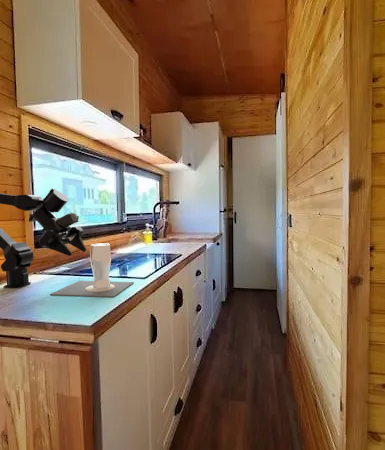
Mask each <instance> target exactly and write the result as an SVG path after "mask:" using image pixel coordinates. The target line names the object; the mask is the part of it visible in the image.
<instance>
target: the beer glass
mask: <svg viewBox="0 0 385 450" xmlns="http://www.w3.org/2000/svg"><path fill="white" fill-rule="evenodd" d="M89 249H90V251H89V259H90V260H89V261H90V265H91V270H92V275H93V280H92V281H93V288H94V289H105V288H109V287H110V286H111V285H110V272H111V271H110V270H111V264H112V263H111V262H112V251H111V244H110V243H105V242H104V243H92V244H90V248H89Z"/></svg>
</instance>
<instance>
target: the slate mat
mask: <svg viewBox="0 0 385 450" xmlns="http://www.w3.org/2000/svg"><path fill="white" fill-rule="evenodd" d="M93 281H94V280H78V281H76V282H73V283H71V284H69V285H67V286H65V287H63V288H60V289H58V290H55V291H53V292H52V293H49V294H50V296H59V297H60V296H63V297H64V296H66V297H90V298H93V297H94V298H115V297H117V296H118V295H119V294H121V293H122V292H124V291H125V290H126V289H128V288H129V287H130V286H132V285H133V284H134V281H110V285H111V286H110V287H109V288H105V289H94V288H93ZM127 287H128V288H127ZM123 290H124V291H123ZM116 295H117V296H116Z"/></svg>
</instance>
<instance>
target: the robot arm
mask: <svg viewBox="0 0 385 450" xmlns="http://www.w3.org/2000/svg"><path fill="white" fill-rule="evenodd" d="M68 201H69V198H68V196H67V195H66V194H64V193H63V192H61V191H59V190H57V189H56V188H51V189H50V190H49V192H48V193H47V195H46V196H45V197H44V198H42V196H41V195H38V194H17V195H15V194H8V193H2V192H0V204H1V205H7V206H13V207H15V208H16V209H19V210H20V211H24V212H31V211H32V212H33V211H34V212H33V213H30V214H28V215H29V218H28V222H29V223H31V222H37V223H38V224H39V225H40V226H41V228H42V229H41V231H42V232H43V234H42V235H41V236H40V237H39V239H38V244H39V245H40V247H42V248H46V249H49V250H52V251H55V252H58V253H61V254H64V255H65V256H68V257H70V256H72V255H73V253H72V252H71V250H70V249H69V247H68V246H67V245H66V243H64V241H63V240H64V239H65V241H66V242H68V244H70V245H71V246H73V247H74V248H76V249H77V250H80V251H82V252H83V253H85V252H86V251H87V247H86V246H85V244H84V241H83V238H82V235H83V234H84V229H83V228H82V227H81V226H74V227H73V226H72V225H74V224H77V223H78V222H80V221H79V218H80V216H79V215H78V214H77V213H75V212H71V213H67V214H64V215H63V216H62V217H57V216H56V215H55V214H54V213H60V211H61V210H62V209H63V208H64V207H65V205H66V204H67V203H68ZM68 230H69V231H68ZM0 249H1V250H2V253H3V256H4V259H5V260H4V261H3V262H2V264H0V268H1V271H2V272H5V275H6V276H5V277H6V278H5V279H6V284H5V285H3V288H10V289H11V288H12V289H13V288H15V289H18V288H22V287H24V286H28V285H30V284H31V283H32V282H31V281H29V272H28V268H30V267H31V266H32V265H31V264H32V262H33V260H34V252H33V251H32V249H33V248H32V247H29V245H28V244H27V243H26V242H25V241H20V242H16V241H15V240H14V239H13V238H11V236H10V235H8V234H7V233H6V232H5V230H3V229H2V227H0Z"/></svg>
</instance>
